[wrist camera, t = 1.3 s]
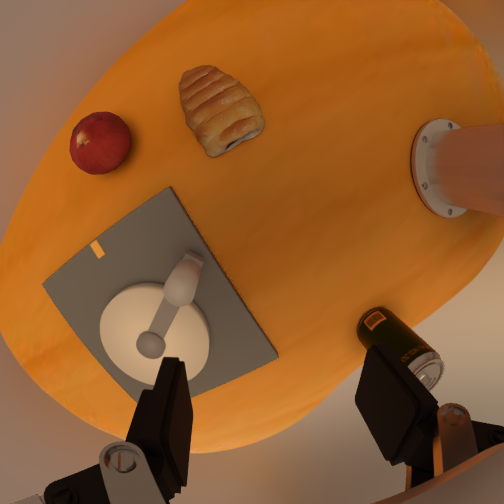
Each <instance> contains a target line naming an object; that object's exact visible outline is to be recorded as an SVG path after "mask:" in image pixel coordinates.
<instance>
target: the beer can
mask: <svg viewBox="0 0 504 504" xmlns="http://www.w3.org/2000/svg"><path fill="white" fill-rule="evenodd" d="M358 337H359V340H360V342H361V343H362V344H363V346H364V347H365V348H366V350H368V349H369V348H371V346H372V345H373V344H378V343H387V344H388V345H389V346H390V347H391V348H392V350H393V351H394V352H395V353H396V354H397V355H398V356H399V357H400V359H401V360H402V361H403V362H404V363H405V364H406V365H407V366H408V368H409V369H410V370H411V371H412V372H413V373H414V374H415V376H416V377H417V378H418V379H419V380H420V381H421V383H422V384H423V385H424V386H425V387H426V388H427V390H428V391H429V392H430V391H431V390H432V389H433V388H434V387H435V386H436V385H437V384H438V382H439V380H440V379H441V377H442V375H443V372H444V363H443V361H442V360H441V358H440V355H439V354H438V353H437V352H436V351H435V350H434V349H433V348H431V347H430V346H429V345H428V344H427V343H426V342H425V341H424V340H423V339H422V338H420V337H419V336H418V335H417V334H416V333H415V332H414V331H413V330H411V329H410V328H409V327H408V326H407V325H406V324H405V323H404V322H402V321H401V320H400V319H399V318H398V317H397V316H396V315H394V314H393V313H392V312H391V311H390V310H388V309H384V308H378V309H374V310H371V311H369V312H368V313H367V314H366V315H365V316H364V317H363V318H362V319H361V321H360V323H359V326H358Z"/></svg>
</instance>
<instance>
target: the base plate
mask: <svg viewBox="0 0 504 504" xmlns="http://www.w3.org/2000/svg"><path fill="white" fill-rule="evenodd" d="M187 250H189V251H191V252H193V253H194V254H196V255H198V256H200V257H202V258H204V259H205V260H204V263H203V265H202V270H201V274H200V278H199V281H198V285H197V288H196V292H195V295H194V298H193V300H192V301H193V302H194V303H195V304H196V305H197V306H198V307H199V309H200V310H201V311H202V313H203V315H204V317H205V319H206V321H207V324H208V327H209V333H210V343H209V353H208V358H207V361H206V363H205V365H204V367H203V368H202V370H201V371H200V372H199V373H198V374H197V375H196V376H195V377H193V378H192V379H191V380H189V381H188V386H189V392H190V398H192V397H194V396H197V395H199V394H201V393H204V392H206V391H209V390H211V389H213V388H216V387H218V386H220V385H222V384H225V383H227V382H229V381H231V380H234V379H236V378H238V377H240V376H242V375H244V374H246V373H249V372H251V371H253V370H255V369H257V368H259V367H261V366H263V365H265V364H267V363H269V362H271V361H273V360H275V359H277V358H279V356H278V353H277V351H276V350H275V348H274V347H273V345H272V344H271V342H270V341H269V339H268V338H267V336H266V335H265V334H264V332H263V331H262V329H261V328H260V326H259V325H258V323H257V322H256V320H255V319H254V317H253V316H252V314H251V313H250V311H249V310H248V308H247V307H246V305H245V304H244V302H243V300H242V299H241V297H240V296H239V294H238V293H237V291H236V290H235V288H234V287H233V285H232V284H231V282H230V281H229V279H228V277H227V276H226V274H225V273H224V271H223V270H222V268H221V267H220V265H219V263H218V262H217V260H216V259H215V257H214V256H213V254H212V252H211V251H210V249H209V248H208V246H207V244H206V243H205V241H204V240H203V238H202V236H201V235H200V233H199V232H198V230H197V228H196V227H195V225H194V224H193V222H192V220H191V219H190V217H189V215H188V214H187V212H186V210H185V209H184V207H183V206H182V204H181V202H180V201H179V199H178V197H177V196H176V194H175V192H174V191H173V189H172V187H168V188H166V189H165V190H163V191H162V192H160V193H159V194H157V195H156V196H154V197H153V198H151V199H150V200H148V201H147V202H145V203H144V204H142V205H141V206H140V207H138V208H137V209H135V210H134V211H133V212H131V213H130V214H128V215H127V216H126V217H124V218H123V219H121V220H120V221H119V222H117V223H116V224H115V225H113V226H112V227H111V228H109V229H108V230H107V231H105V232H104V233H103V234H101V235H100V236H99V237H98V238H96V239H95V240H94V241H92V242H91V243H90V244H89V245H87V246H86V247H85V248H84V249H82V250H81V251H80V252H79V253H78V254H76V255H75V256H74V257H73V258H72V259H70V260H69V261H68V262H67V263H66V264H64V265H63V266H62V267H61V268H60V269H59V270H57V271H56V272H55V273H54V274H53V275H52V276H51V277H49V278H48V279H47V280H46V281H45V282H44V283H43V284H42V285H43V287H44V288H45V290H46V291H47V293H48V295H49V296H50V298H51V299H52V301H53V302H54V304H55V305H56V307H57V308H58V310H59V311H60V313H61V314H62V315H63V317H64V318H65V320H66V321H67V322H68V324H69V325H70V327H71V328H72V329H73V331H74V332H75V333H76V335H77V336H78V337H79V338H80V340H81V341H82V342H83V344H84V345H85V346H86V347H87V349H88V350H89V351H90V352H91V353H92V355H93V356H94V357H95V358H96V359H97V361H98V362H99V363H100V364H101V365H102V366H103V368H104V369H105V370H106V371H107V372H108V373H109V374H110V375H111V376H112V378H113V379H114V380H115V381H116V382H117V383H118V384H119V385H120V386H121V387H122V388H123V389H124V390H125V391H126V392H127V393H128V394H129V395H130V396H131V397H132V398H133V399H134V400H135V401H136V402H137V403H138V401H139V398H140V395H141V393H142V391H143V390H144V389H150V390H153V387H154V385H150V384H146V383H143V382H141V381H138V380H136V379H134V378H132V377H130V376H129V375H127V374H126V373H124V372H123V371H122V370H121V369H119V368H118V367H117V366H116V365H115V364H114V362H113V361H112V360H111V359H110V357H109V356H108V354H107V353H106V351H105V349H104V346H103V344H102V341H101V336H100V320H101V316H102V314H103V311H104V309H105V308H106V306H107V305H108V304H109V303H110V302H111V300H112V299H113V298H114V297H115V296H116V295H117V294H118V293H119V292H120V291H122V290H123V289H125V288H127V287H128V286H131V285H134V284H138V283H147V282H149V283H159V284H164V285H165V283H166V281H167V279H168V278H169V276H170V274H171V273H172V271H173V269H174V268H175V266H176V264H177V263H178V261H179V260H180V259H181V258H182V257H184V256H185V254H186V252H187Z"/></svg>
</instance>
